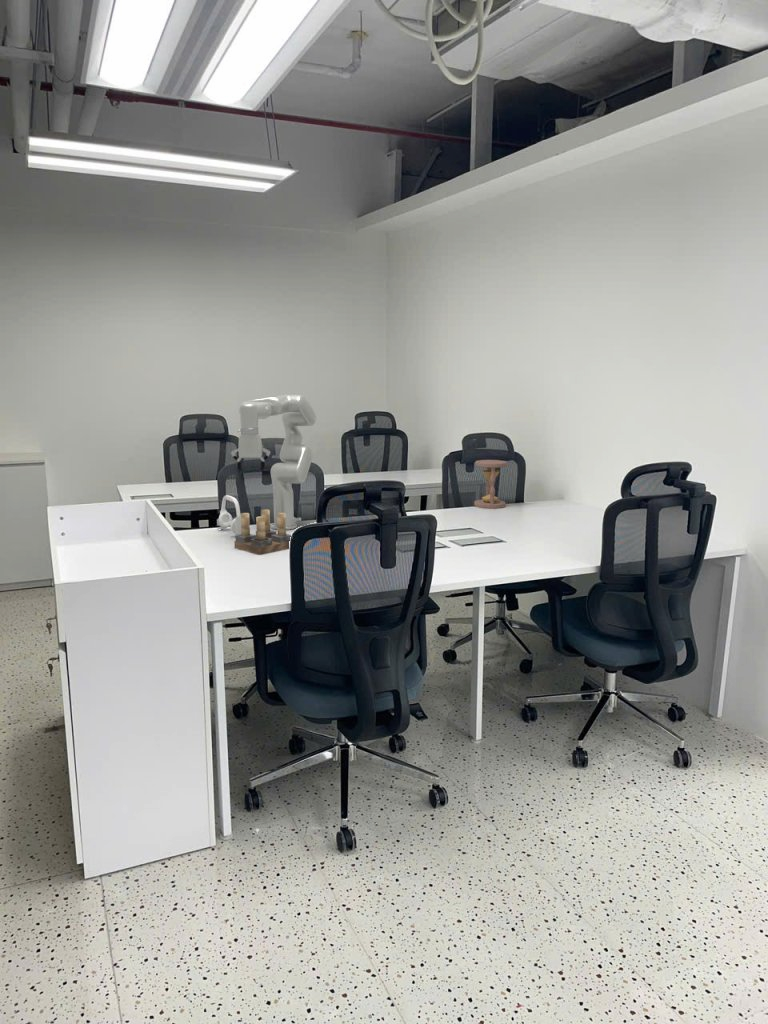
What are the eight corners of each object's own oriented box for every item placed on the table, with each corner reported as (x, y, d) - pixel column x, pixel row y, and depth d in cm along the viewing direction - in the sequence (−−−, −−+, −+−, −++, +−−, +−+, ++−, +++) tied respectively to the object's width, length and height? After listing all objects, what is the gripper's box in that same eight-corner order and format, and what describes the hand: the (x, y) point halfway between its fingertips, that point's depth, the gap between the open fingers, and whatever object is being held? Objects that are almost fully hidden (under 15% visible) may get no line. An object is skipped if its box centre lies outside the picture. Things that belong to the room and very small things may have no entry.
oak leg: (255, 545, 318) (254, 517, 315) (262, 543, 320) (261, 516, 318) (260, 546, 315) (259, 518, 313) (267, 545, 318) (266, 517, 316)
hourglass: (505, 509, 414) (506, 464, 409) (473, 508, 417) (474, 463, 412) (505, 503, 431) (507, 460, 426) (475, 502, 434) (476, 459, 429)
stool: (267, 540, 338) (266, 508, 336) (293, 547, 326) (292, 513, 323) (234, 547, 326) (233, 513, 323) (260, 554, 314) (259, 519, 311)
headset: (246, 536, 348) (245, 498, 344) (232, 538, 344) (230, 499, 340) (230, 528, 364) (229, 492, 361) (216, 530, 360) (214, 493, 357)
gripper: (228, 433, 327) (230, 472, 330) (268, 432, 327) (270, 471, 331) (231, 431, 334) (233, 469, 338) (270, 430, 335) (271, 468, 338)
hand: (251, 470), depth 334 cm, fingers open, 9 cm apart
